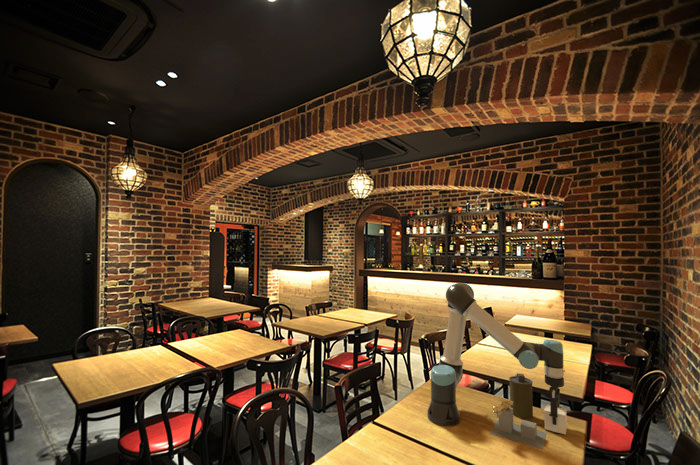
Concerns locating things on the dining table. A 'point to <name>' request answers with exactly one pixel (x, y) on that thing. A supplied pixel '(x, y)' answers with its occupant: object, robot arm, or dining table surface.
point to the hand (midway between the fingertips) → (555, 427)
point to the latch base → (518, 430)
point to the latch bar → (501, 407)
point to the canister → (521, 396)
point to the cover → (561, 419)
